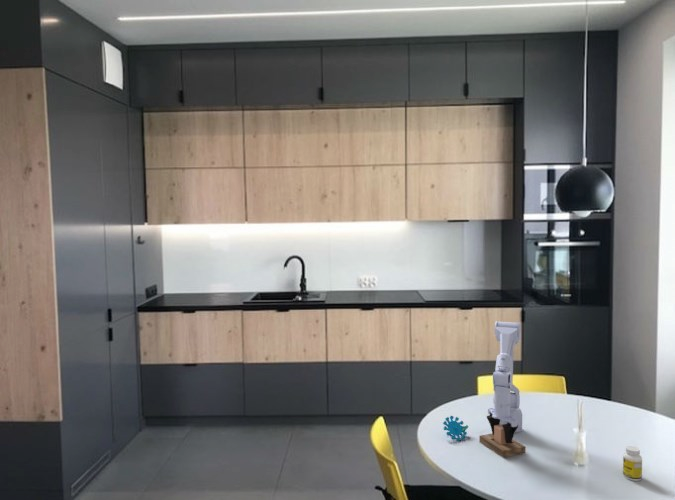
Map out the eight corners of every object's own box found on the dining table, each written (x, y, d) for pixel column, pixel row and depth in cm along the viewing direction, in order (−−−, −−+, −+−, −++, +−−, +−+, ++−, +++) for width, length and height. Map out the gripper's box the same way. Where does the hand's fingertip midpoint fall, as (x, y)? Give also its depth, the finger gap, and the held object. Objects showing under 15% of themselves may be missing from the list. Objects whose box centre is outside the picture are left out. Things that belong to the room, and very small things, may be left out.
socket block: (500, 438, 198) (500, 431, 198) (525, 453, 185) (525, 446, 185) (479, 442, 195) (479, 435, 195) (503, 457, 182) (503, 450, 181)
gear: (448, 439, 193) (441, 414, 200) (441, 445, 197) (435, 421, 204) (473, 439, 197) (465, 415, 203) (466, 445, 201) (458, 421, 207)
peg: (502, 444, 192) (502, 423, 192) (509, 448, 189) (509, 427, 188) (494, 446, 191) (494, 425, 191) (500, 450, 187) (500, 429, 187)
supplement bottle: (619, 473, 169) (619, 445, 169) (634, 472, 170) (635, 444, 169) (630, 481, 164) (630, 452, 163) (645, 481, 164) (646, 451, 164)
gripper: (481, 398, 194) (481, 432, 195) (506, 411, 181) (505, 448, 181) (496, 395, 197) (496, 430, 197) (522, 408, 183) (521, 445, 184)
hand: (501, 438), depth 190 cm, fingers open, 7 cm apart
